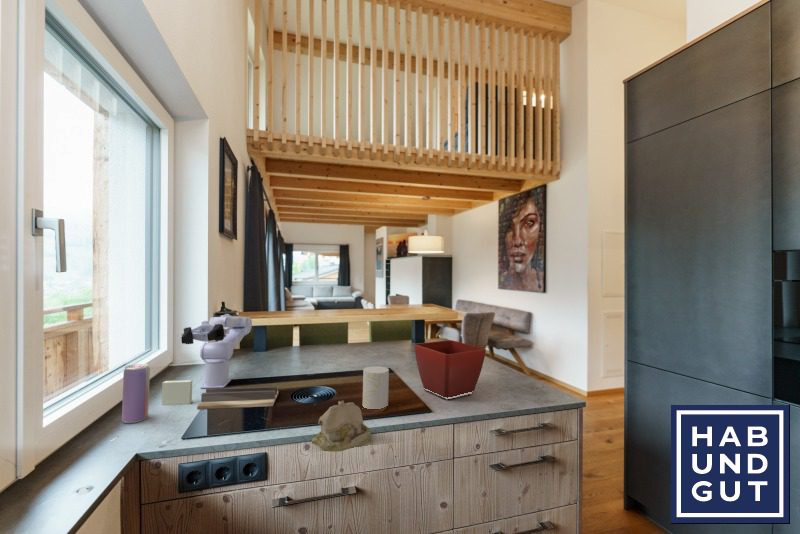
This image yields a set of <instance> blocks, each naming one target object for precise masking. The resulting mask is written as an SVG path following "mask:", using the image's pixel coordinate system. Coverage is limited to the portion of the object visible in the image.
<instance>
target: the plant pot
mask: <svg viewBox="0 0 800 534" xmlns="http://www.w3.org/2000/svg"><path fill="white" fill-rule="evenodd" d="M413 347H414V354H415V360H416V366H417V369H418V374H419V378H420V381H421V383H422V386H423V387H422V388H423V389H424V388H425V389H428V390H430V391H432V392H434V393H437V394H439V395H441V396H443V397H447V398H448V397H453V396H457V395H460V394H464V393H468V392H472V391H473V392H474V391H475V388H476V386H477V383H478V381H479V378H480V375H481V372H482V369H483V365H484V361H485V356H486V351H487V350H486V348H484V347H479V346H476V345H472V344H468V343H464V342H460V341H458V340H457V341H456V340H453V339H451V340H450V339H449V340H448V339H447V340H440V341H429V342H428V341H427V342H419V343H414V345H413ZM425 389H424V390H425Z"/></svg>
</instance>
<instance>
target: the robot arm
mask: <svg viewBox="0 0 800 534" xmlns="http://www.w3.org/2000/svg"><path fill="white" fill-rule="evenodd" d="M252 322H253V321H252V318H251V317H250V316H249V317H247V316H238V315H237V316H232V315H230V314H229V313H225V314H223V315H220V316H211V317H210V319H209V320H204V321H202V322H201V325H199V326H196V327H194V328H192V327H191V326H188V327H187V326H186V327H185V328H183V332H181V337H180V339H181V344H183V345H193V344H194V340H195V341H200V342H204V343H202V344H201V346H200V350H199V357H200V359H201V360H202V361H203V363H205V364H204V383H203V384H202V385H200V388H199V389H211V388H226V386H227V385H228V384H229V383H230V382H231V381H232V379H231V378H229V375H230V374H229V371H230V364H229V361H228V360H230V359H231V358H232V356H233V354H234V348H235V347H236V346H238V345H239V344H240V343H241V341H242V340H243V338H244V337H245V336H247V335H249V333H251V330H252ZM211 341H213V342H211Z"/></svg>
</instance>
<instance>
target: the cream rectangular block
mask: <svg viewBox="0 0 800 534" xmlns="http://www.w3.org/2000/svg"><path fill="white" fill-rule="evenodd" d="M161 383H162V384H161V385H162V386H161V405H162V406H170V405H173V406H175V405H190V404H191V403H192V402H193V399H192V398H193V379H189V380H186V379H185V380H165V381H163V382H161Z"/></svg>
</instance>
